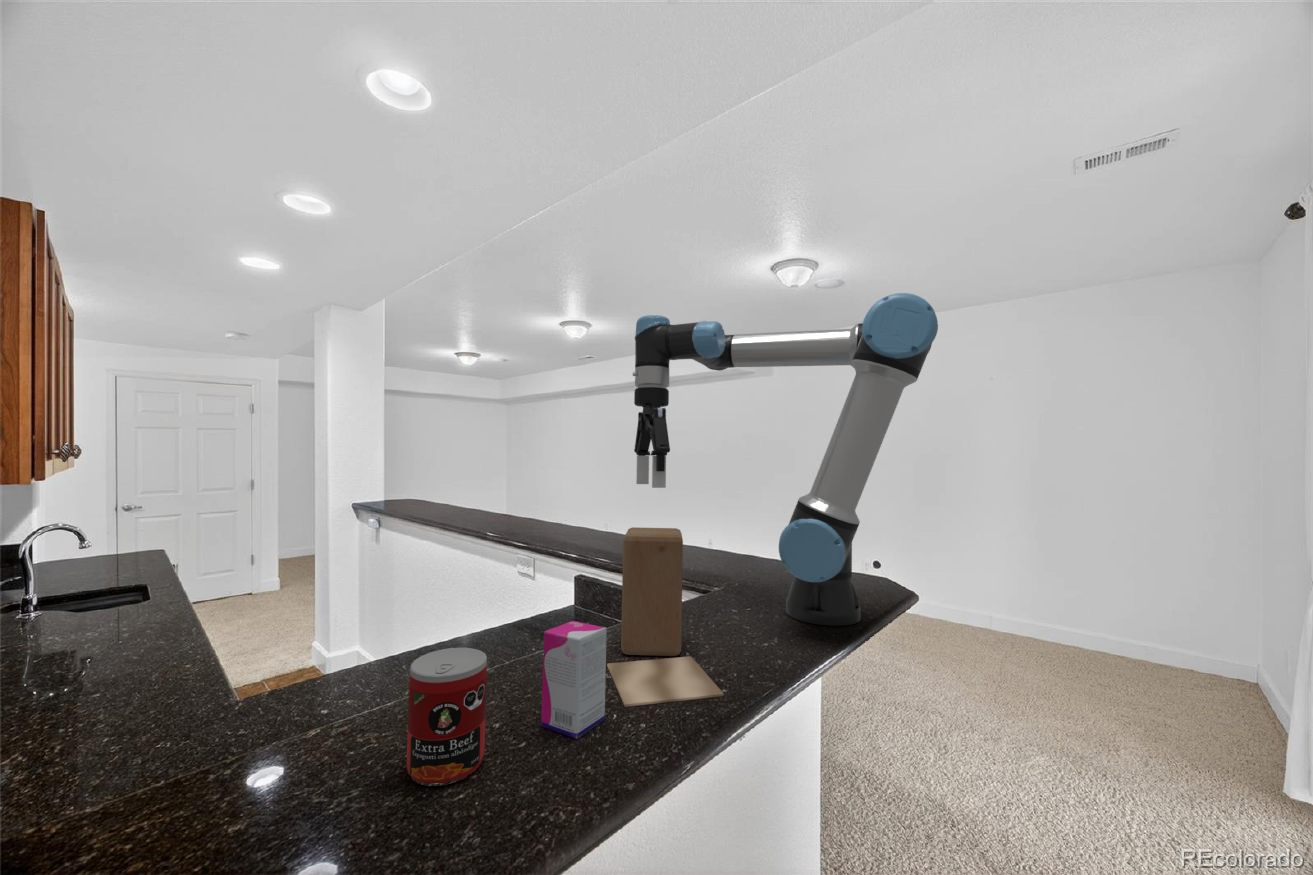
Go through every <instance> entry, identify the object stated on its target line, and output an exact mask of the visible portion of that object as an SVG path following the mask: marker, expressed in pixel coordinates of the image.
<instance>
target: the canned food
mask: <svg viewBox="0 0 1313 875" xmlns="http://www.w3.org/2000/svg"><path fill="white" fill-rule="evenodd" d="M487 677H488V660H487V654H486V653H485V652H483V650H479V649H476V648H472V647H450V648H443V649H437V650H434V651H431V652H427V653H425V654H423V655H421V656H420V657H417V658H416V659H415V660H413V662H412V663H411V664H410V670H409V678H408V679H409V681H408V707H407V708H408V709H407V712H408V713H407V741H406V742H407V743H406V744H407V745H406V770H407V774H408V776H409V775H410V776H411V777H412V778H413V779H414V780H416V781H420V782H423V783H447V782H450V781H452V780H456V779H459V778H463V777H465V776H466V775H468V774H471V773H472V772H473V771H474V770H475V769H477V768H478V767H479V768H480V766H481V765H480V764H482V761H483V758H484V755H485V746H486V745H485V743H486V741H485V740H486V714H487V713H486V712H487V711H486V710H487V709H486V708H487V687H488V686H487V683H488V682H487V680H488V678H487ZM479 765H480V766H479ZM479 768H478V769H479ZM478 769H477V770H478ZM471 775H472V774H471Z"/></svg>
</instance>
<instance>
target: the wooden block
mask: <svg viewBox="0 0 1313 875" xmlns="http://www.w3.org/2000/svg"><path fill="white" fill-rule="evenodd" d="M682 534H683V533H682V532H681V530H680V529H679V528H676V527H675V528H673V527H633V526H631V527H629V528H628V529H627V531H626V533H625V535H624V537H623V539H622V541H623V542H622V580H621V582H622V583H621V584H622V586H621V589H622V590H621V592H622V593H621V626H620V627H621V628H620V631H621V634H620V639H621V640H620V642H621V643H620V649H621V653H623V654H625V655H627V656H628V655H629V656H658V657H659V656H660V657H661V656H662V657H667V656H668V657H676V656H679V655H680V653H681V651H682V628H683V627H682V625H683V624H682V620H683V617H682V616H683V612H682V611H683V567H684V566H683V557H684V556H683V555H684V550H683V549H684V541H683V540H684V539H683V535H682Z"/></svg>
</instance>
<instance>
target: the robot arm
mask: <svg viewBox="0 0 1313 875" xmlns="http://www.w3.org/2000/svg"><path fill="white" fill-rule="evenodd" d="M938 322H939V321H938V318H937V315H936V311H935V310H934V308H933V306H932V305H931V304H930V303H929V302H928V301H927V300H926V299H924V298H923V297H921V296H919V295H916V294H913V293H907V292H900V293H893V294H889V295H887V296H884V297H882V298H880V299H879V300H877V301H876V302H875V303H874V304H873V305H872V306H871V307H870V308H869V309H868V311H867V312H866V314H865V316H864V318H863V321H862V322H861V323H856V324H855V325H854V326H853V327H851V328H842V329H841V328H840V329H839V328H838V329H822V330H821V329H820V330H819V329H818V330H817V329H816V330H802V331H781V332H780V331H779V332H761V333H759V332H758V333H738V334H725V330H724V328H723V325H722V324H721V323H720V322H719V321H711V320H710V321H707V320H702V321H697V322H690V323H679V324H671V321H670V319H669V318H668V317H666V316H663V315H660V314H659V315H658V314H656V315H654V314H653V315H652V314H648V315H647V314H646V315H643V316H641V317H639V318H638V319H637V321H636V324H635V325H636V327H635V336H634V341H635V343H634V344H635V347H634V348H635V350H634V351H635V352H634V354H635V358H634V359H635V361H634V364H635V365H634V370H635V371H633V372H632V377H634V386H635V387H637V388H635V389H634V393H633V394H634V397H633V398H634V399H633V403H634V405H635V406H636V407H642V411H639V412H638V414H637V415H638V416H637V427H636V433H635V434H636V435H635V442H634V443H635V444H634V449H633V452H634V453H635V455H636V479H635V480H636V482H635V483H636V485H649V483H650V482H649V481H650V480H649V478H650V476H649V475H650V456H652V461H651V462H652V465H651V466H652V469H651V471H652V472H651V488H652V489H654V488H656V489H659V488H660V489H663V488H664V489H666V488H667V486H666V484H667V480H666V478H667V455H668V453H670V451H671V446H670V439H669V431H668V425H667V424H668V423H667V410H666V408H665V407H668V406H669V402H670V401H669V396H670V395H669V394H670V391H669V389H668V387H669V386H670V361H677V360H693V361H694V362H698V363H699V364H701V365H703V366H705V367H706V368H707V369H709V370H712V371H724V370H726V369H732V368H765V367H766V368H767V367H769V368H771V367H778V368H779V367H815V366H817V367H822V366H823V367H825V366H826V367H828V366H829V367H830V366H850V367H852V368H853V369H854V371H855V376H854V378H853V380H852V383H851V385H850V389H849V391H848V393H847V396H846V399H845V401H844V404H843V407H842V409H841V411H840V414H839V417H838V419H837V421H836V424H835V428H834V429H833V433H832V434H831V438H830V441H829V442H828V446H827V448H826V450H825V452H824V456H823V459H822V460H821V463H820V466H819V469H818V471H817V473H816V475H815V476H816V477H815V478H814V481H813V484H812V487H811V489H810V492H808V493H807V494H805V495H803V496H800V497H798V500H797V502H796V505H795V508H794V509H793V512H792V514H791V518H790V520H789V523H788V525H787V526H785V527H784V529H783V530H782V532H781V534H780V536H779V540H778V554H779V557H780V561H781V563H782V564H783V566H784V567H785V569H786V570H787V572H789V573H790V574H792V575H793V580H792V583H791V585H790V589H789V591H788V595H787V598H786V600H785V613H786V614H787V616H789V617H791V618H792V619H795V620H797V621H800V622H804V623H809V624H813V625H820V626H831V627H833V626H835V627H837V626H838V627H842V626H851V625H855V624H858V623H859V622H861V620H862V617H861V616H862V614H861V613H862V612H861V610H862V609H861V605H860V602H859V600H858V599H859V598H858V596H857V593H856V589H855V588H854V583H853V573H852V572H853V570H852V569H853V540H854V538H855V536H856V534H857V532H858V528H859V525H860V522H861V521H860V519H859V516H858V515H857V513H856V509H857V507H858V505H859V504H858V503H859V501H860V499H861V497H862V494H863V491H864V490H865V487H866V484H867V482H868V479H869V476H870V475H871V471H872V470H873V467H874V464H875V462H876V459H877V456H878V454H879V452H880V448H881V447H882V444H883V441H884V440H885V437H886V434H887V431H888V429H889V426H890V423H891V422H892V419H893V417H894V414H895V412H896V409H897V407H898V404H899V401H900V399H901V397H902V394H903V391H904V389H905V388H907V387H908V386H910V385H912V384H915V383H916V382H917V381H918V379H919V376H920V374H921V371H922V369H923V366H924V364H925V361H926V359H927V356H928V354H929V353H930V351H931V349H932V345H933V342H934V340H935V339H936V337H937V334H938V330H939V323H938ZM650 445H652V448H653V450H651V451H650Z"/></svg>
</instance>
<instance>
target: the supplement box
mask: <svg viewBox="0 0 1313 875" xmlns="http://www.w3.org/2000/svg"><path fill="white" fill-rule="evenodd" d="M607 629H608V628H607V627H604V626H598V625H594V624H590V623H584V622H580V621H574V620H571V621H569V622H566V623H563V624H560V625H559V626H556V627H553V628H550V629H547V630H545V631H543V656H542V658H543V663H542V686H541V687H542V688H541V691H542V692H541V693H542V694H541V717H540V719H541V721H540V722H541V723H540V724H541V725H540V726H541V727H543V728H545V729H547V730H551V731H553V732H557V733H559V734H562V735H565V736H567V737H571V738H573V739H577V740H578V739H579V738H581V737H582V736H583V735H584V734H586V733H588V732H589V731H590V730H591V729H593V728H594V727H596V726H598V725H599V724H600V723H602V722H603V721H605V717H606V716H605V715H606V676H607V675H606V671H607V669H606V667H607Z"/></svg>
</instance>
